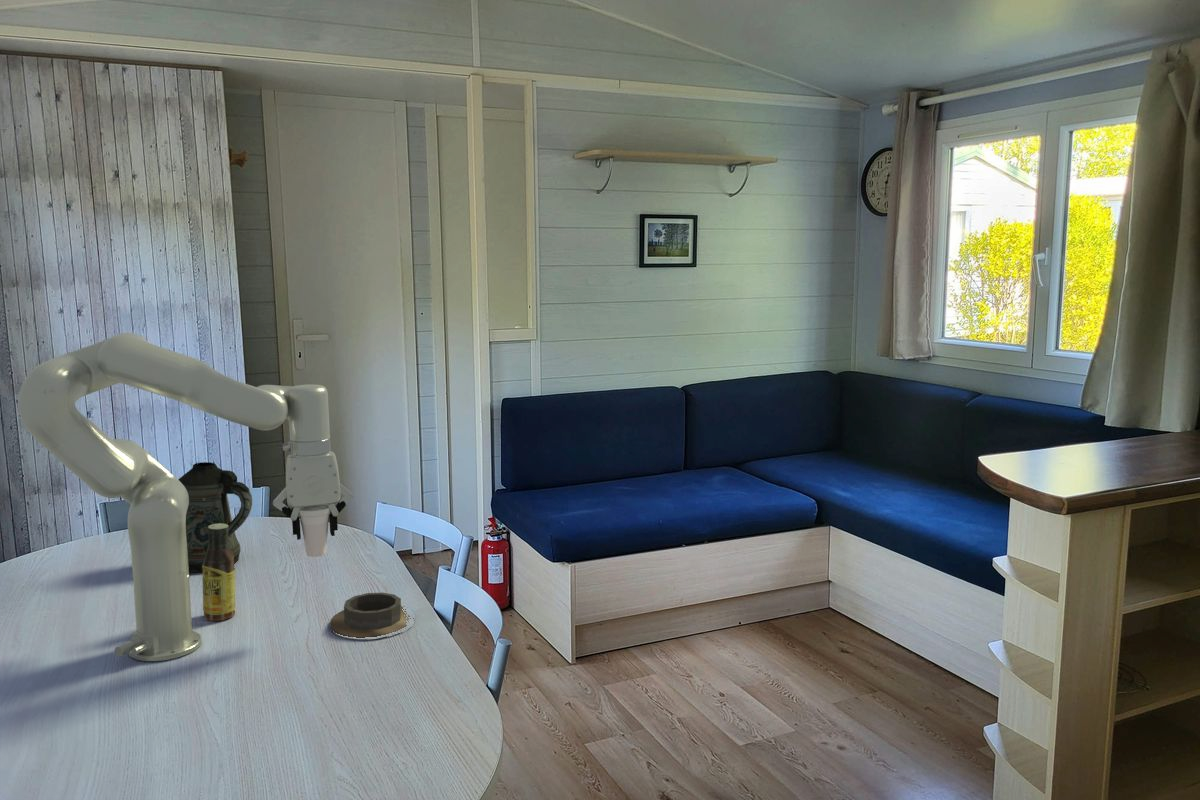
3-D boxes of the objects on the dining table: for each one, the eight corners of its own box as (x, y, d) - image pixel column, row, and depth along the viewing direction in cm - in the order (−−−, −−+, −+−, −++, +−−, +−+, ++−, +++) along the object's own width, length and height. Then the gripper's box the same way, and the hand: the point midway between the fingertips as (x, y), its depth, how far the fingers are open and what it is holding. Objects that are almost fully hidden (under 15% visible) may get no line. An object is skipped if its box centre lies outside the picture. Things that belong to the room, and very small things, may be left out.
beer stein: (168, 556, 224) (163, 459, 220) (251, 548, 232) (247, 454, 228) (167, 577, 209) (161, 474, 205) (256, 567, 217) (251, 467, 214)
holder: (383, 645, 174) (383, 623, 173) (312, 631, 180) (312, 610, 179) (430, 615, 190) (430, 594, 189) (363, 603, 196) (363, 583, 195)
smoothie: (327, 559, 175) (323, 490, 173) (294, 558, 175) (291, 489, 173) (337, 548, 182) (334, 481, 180) (306, 548, 182) (302, 481, 180)
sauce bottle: (197, 619, 185) (192, 526, 182) (222, 609, 191) (217, 519, 188) (218, 625, 182) (214, 531, 179) (243, 615, 188) (239, 524, 185)
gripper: (264, 454, 169) (270, 546, 172) (357, 447, 175) (361, 536, 178) (263, 447, 176) (269, 535, 178) (353, 440, 182) (358, 526, 184)
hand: (315, 535), depth 178 cm, fingers closed on smoothie, 5 cm apart
